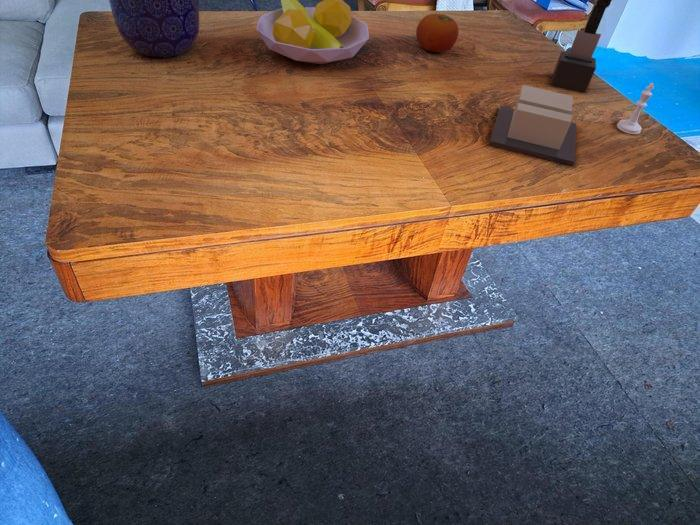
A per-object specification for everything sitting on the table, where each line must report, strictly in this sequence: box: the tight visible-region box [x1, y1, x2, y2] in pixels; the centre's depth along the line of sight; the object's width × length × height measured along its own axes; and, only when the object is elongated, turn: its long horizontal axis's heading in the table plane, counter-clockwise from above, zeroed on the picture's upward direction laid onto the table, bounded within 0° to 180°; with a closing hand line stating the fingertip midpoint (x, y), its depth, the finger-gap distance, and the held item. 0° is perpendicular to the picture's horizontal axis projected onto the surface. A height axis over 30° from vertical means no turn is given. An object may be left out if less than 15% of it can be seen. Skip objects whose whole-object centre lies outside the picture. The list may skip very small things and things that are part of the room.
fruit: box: [415, 12, 459, 53], centre depth 128 cm, size 11×10×8 cm
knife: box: [568, 0, 606, 63], centre depth 115 cm, size 5×2×17 cm, turn 71°
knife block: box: [550, 50, 597, 94], centre depth 120 cm, size 8×6×6 cm
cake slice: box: [508, 103, 573, 150], centre depth 97 cm, size 10×3×6 cm, turn 71°
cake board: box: [488, 105, 577, 167], centre depth 102 cm, size 16×16×1 cm
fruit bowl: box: [255, 0, 370, 65], centre depth 120 cm, size 28×27×11 cm
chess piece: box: [616, 82, 655, 135], centre depth 105 cm, size 5×5×10 cm
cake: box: [510, 84, 574, 126], centre depth 102 cm, size 10×7×6 cm
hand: (593, 22), depth 112 cm, fingers closed on knife, 2 cm apart
